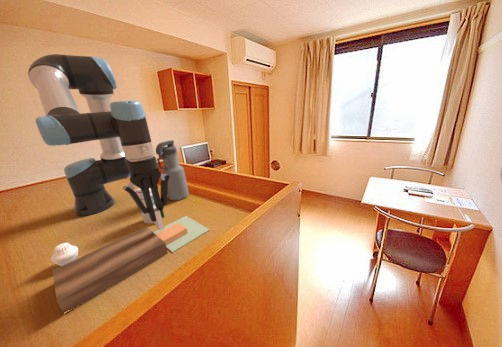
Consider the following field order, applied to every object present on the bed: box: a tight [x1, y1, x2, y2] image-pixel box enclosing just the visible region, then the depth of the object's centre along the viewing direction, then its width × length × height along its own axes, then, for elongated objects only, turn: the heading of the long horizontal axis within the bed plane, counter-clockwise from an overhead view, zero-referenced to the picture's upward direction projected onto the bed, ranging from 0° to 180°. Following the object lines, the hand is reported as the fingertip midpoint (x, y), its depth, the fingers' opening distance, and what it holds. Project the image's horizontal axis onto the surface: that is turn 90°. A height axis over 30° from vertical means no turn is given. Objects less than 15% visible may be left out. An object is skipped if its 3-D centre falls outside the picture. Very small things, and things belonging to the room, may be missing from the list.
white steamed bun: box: [50, 242, 79, 267], centre depth 58 cm, size 6×6×7 cm
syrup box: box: [134, 187, 166, 224], centre depth 77 cm, size 6×6×14 cm
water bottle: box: [155, 140, 189, 202], centre depth 95 cm, size 10×10×28 cm
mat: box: [152, 215, 210, 253], centre depth 70 cm, size 16×14×1 cm
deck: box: [51, 226, 169, 313], centre depth 56 cm, size 14×24×4 cm, turn 138°
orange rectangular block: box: [156, 223, 188, 245], centre depth 67 cm, size 6×9×2 cm, turn 138°
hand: (160, 227), depth 64 cm, fingers closed
